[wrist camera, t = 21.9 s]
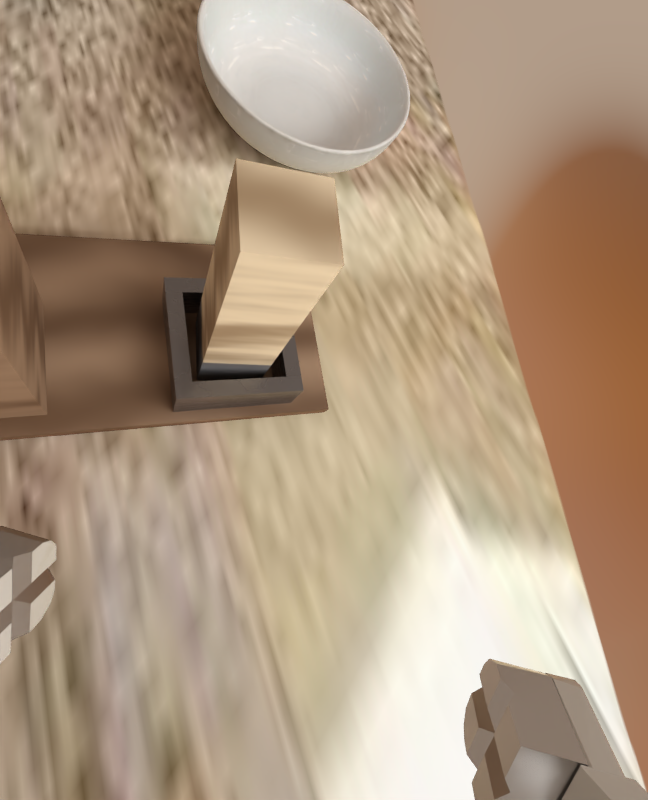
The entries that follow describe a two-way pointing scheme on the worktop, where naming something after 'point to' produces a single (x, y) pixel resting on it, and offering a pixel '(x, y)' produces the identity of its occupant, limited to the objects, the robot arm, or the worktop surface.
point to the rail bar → (265, 268)
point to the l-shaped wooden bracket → (123, 341)
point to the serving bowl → (303, 80)
